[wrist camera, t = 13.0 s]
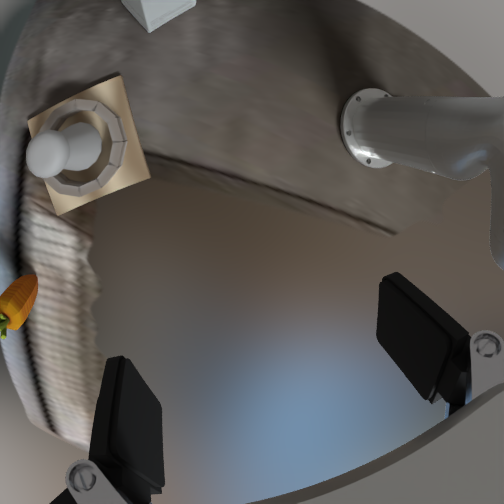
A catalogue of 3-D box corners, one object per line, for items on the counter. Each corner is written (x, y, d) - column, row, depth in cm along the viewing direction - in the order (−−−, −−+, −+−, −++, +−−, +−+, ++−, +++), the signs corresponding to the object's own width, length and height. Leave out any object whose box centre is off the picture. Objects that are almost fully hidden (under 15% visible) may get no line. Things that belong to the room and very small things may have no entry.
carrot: (31, 293, 36) (-7, 354, 23) (18, 266, 34) (-28, 321, 20) (53, 286, 37) (17, 350, 23) (40, 258, 34) (-5, 315, 21)
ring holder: (122, 76, 29) (115, 70, 25) (151, 176, 35) (147, 181, 31) (30, 121, 27) (16, 121, 23) (60, 213, 33) (49, 222, 30)
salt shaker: (59, 136, 28) (8, 142, 17) (96, 114, 29) (56, 108, 17) (75, 176, 31) (30, 199, 20) (112, 155, 32) (80, 168, 20)
